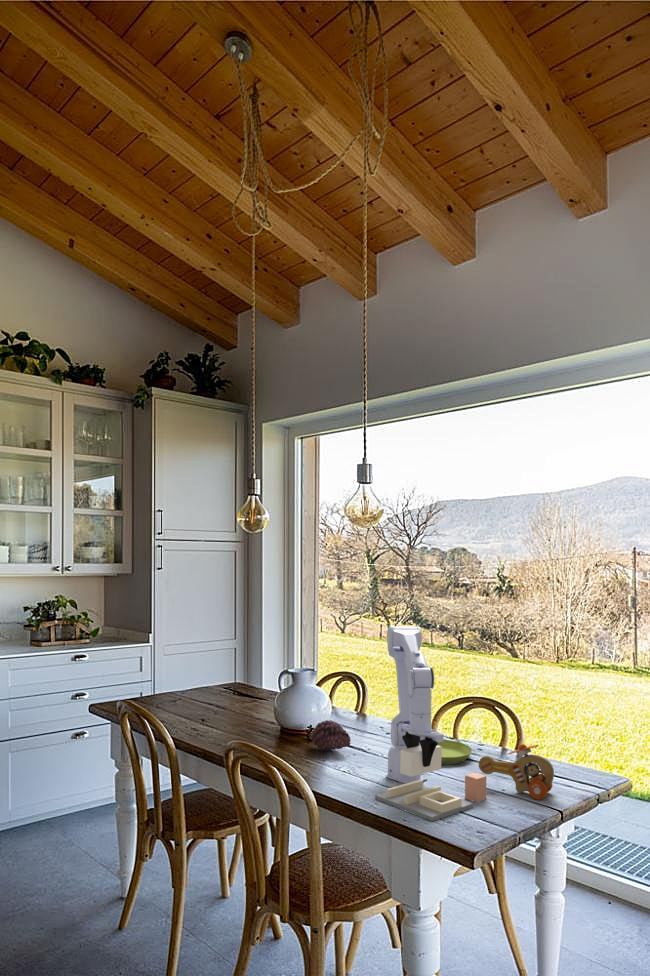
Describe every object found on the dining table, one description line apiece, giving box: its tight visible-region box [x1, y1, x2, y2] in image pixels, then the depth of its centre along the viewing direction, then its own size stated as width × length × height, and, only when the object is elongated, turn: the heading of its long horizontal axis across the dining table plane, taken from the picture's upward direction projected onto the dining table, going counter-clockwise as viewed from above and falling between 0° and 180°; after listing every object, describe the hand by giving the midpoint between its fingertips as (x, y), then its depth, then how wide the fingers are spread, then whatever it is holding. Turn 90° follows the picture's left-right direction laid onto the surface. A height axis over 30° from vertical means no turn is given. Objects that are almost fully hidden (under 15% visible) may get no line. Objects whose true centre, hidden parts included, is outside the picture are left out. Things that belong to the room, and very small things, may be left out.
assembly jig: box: [375, 780, 474, 822], centre depth 197 cm, size 20×16×3 cm
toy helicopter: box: [478, 743, 555, 801], centre depth 209 cm, size 8×21×14 cm, turn 61°
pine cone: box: [309, 719, 351, 752], centre depth 244 cm, size 18×10×10 cm, turn 41°
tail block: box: [464, 772, 487, 803], centre depth 202 cm, size 4×4×6 cm
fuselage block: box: [400, 745, 442, 777], centre depth 202 cm, size 4×12×6 cm, turn 131°
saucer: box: [438, 738, 473, 765], centre depth 240 cm, size 21×21×3 cm
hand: (420, 764), depth 202 cm, fingers closed on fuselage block, 4 cm apart
